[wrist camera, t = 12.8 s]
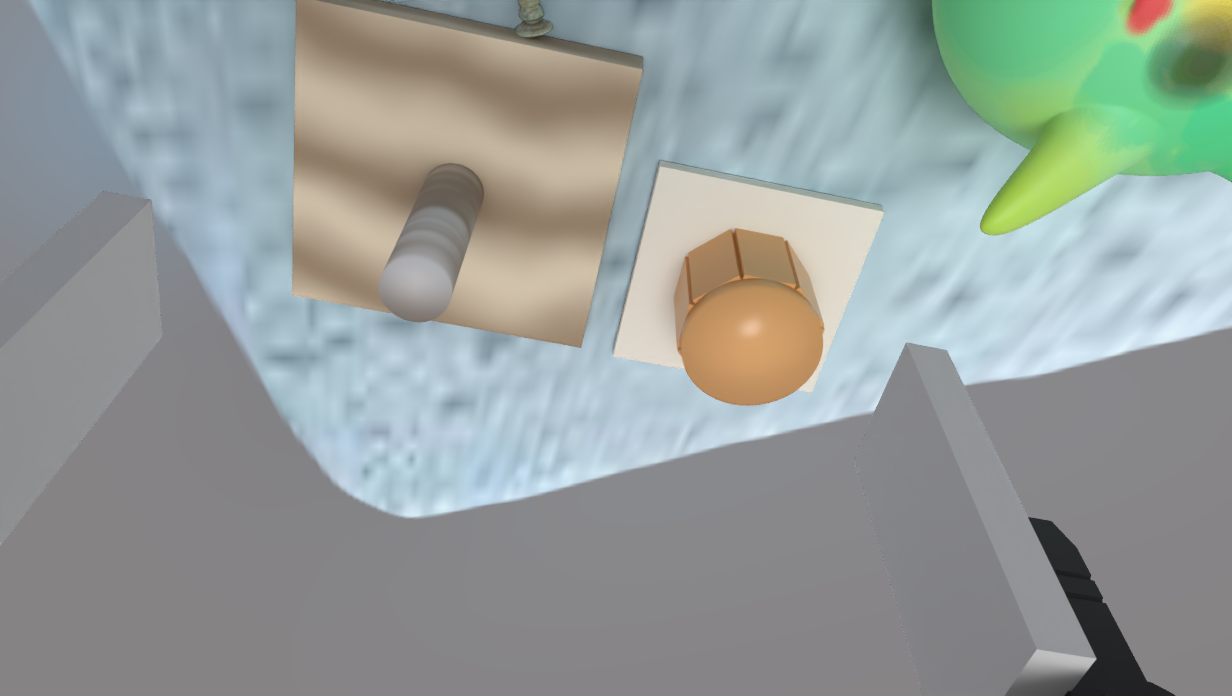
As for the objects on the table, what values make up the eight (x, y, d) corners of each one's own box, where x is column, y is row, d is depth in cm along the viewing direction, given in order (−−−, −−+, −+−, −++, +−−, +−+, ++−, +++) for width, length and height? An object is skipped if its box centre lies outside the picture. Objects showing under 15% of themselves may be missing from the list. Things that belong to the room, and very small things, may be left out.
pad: (659, 160, 48) (660, 166, 48) (881, 205, 49) (884, 211, 49) (613, 348, 55) (612, 356, 54) (809, 384, 56) (811, 392, 55)
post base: (309, -15, 44) (212, 64, 34) (643, 57, 45) (644, 152, 35) (303, 276, 53) (224, 407, 43) (582, 328, 54) (569, 466, 44)
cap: (695, 219, 49) (701, 276, 44) (822, 245, 50) (842, 303, 45) (664, 329, 53) (667, 392, 48) (783, 351, 54) (798, 415, 49)
